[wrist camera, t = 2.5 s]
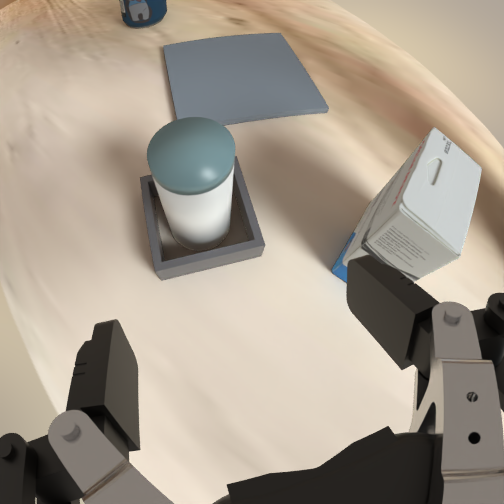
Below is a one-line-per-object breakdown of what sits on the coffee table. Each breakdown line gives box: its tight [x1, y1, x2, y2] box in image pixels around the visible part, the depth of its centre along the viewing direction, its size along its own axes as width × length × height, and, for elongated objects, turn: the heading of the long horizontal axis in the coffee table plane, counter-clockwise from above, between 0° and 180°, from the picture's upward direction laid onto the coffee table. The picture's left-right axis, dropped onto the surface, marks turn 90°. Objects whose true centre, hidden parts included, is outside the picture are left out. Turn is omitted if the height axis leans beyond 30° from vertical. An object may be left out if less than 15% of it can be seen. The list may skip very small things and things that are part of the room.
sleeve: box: [140, 156, 265, 281], centre depth 25 cm, size 8×8×2 cm
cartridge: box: [147, 117, 235, 251], centre depth 22 cm, size 5×5×10 cm
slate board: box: [163, 33, 329, 125], centre depth 33 cm, size 16×16×1 cm
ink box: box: [332, 127, 482, 283], centre depth 21 cm, size 8×5×12 cm, turn 144°
